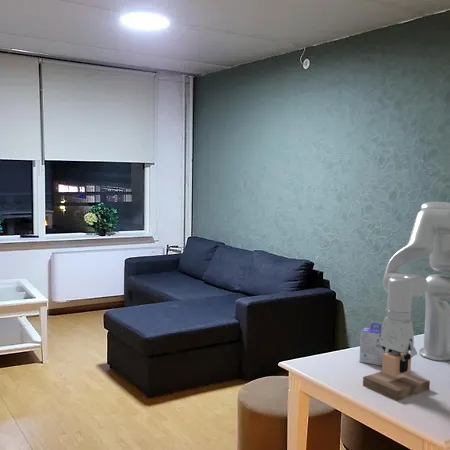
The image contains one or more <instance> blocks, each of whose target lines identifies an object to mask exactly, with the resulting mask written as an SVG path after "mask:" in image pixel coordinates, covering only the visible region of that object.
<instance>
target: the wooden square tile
mask: <svg viewBox="0 0 450 450" xmlns="http://www.w3.org/2000/svg"><path fill="white" fill-rule="evenodd" d="M362 378H363V379H362V386H364V387H366V388H368V389H370V390H372V391H373V392H374V391H375V392H377V393H379V394H381V395H383V396H385V397H387V398H389V399H390V398H391V399H392V400H395V401H400V400H403V399H406V398H409V397H411V396H412V397H413V396H415V395H417V394H421V393H424V392H426V391H430V382H431V381H430V380H429V379H427V378H423V377H422V376H419V375H416V374H414V373H411V372H408V373H404V374H401V375H398V376H392V375H389V374H387V373H384V372H382V370H380V371H378V372H375V373H372V374H368V375H365V376H362Z"/></svg>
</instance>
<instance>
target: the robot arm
mask: <svg viewBox="0 0 450 450" xmlns="http://www.w3.org/2000/svg"><path fill="white" fill-rule="evenodd" d="M413 223H414V224H413V226H412V229H411V233H410V236H409V238H408V239H409V240H408V242H407V244H406V245H405V246H404V247H402V248H400V249H399V250H398V251H396V253H394V254H393V256H391V258H390V259H389V260H388V262H387V264H386V268H385V270H384V271H385V272H384V273H383V274H384V275H383V279H382V286H383V287H382V288H383V290H384V291H385V292H387V298H386V299H387V301H386V302H387V303H386V304H387V305H386V308H385V309H384V312H385V313H386V316H384V319H383V322H382V325H381V330H382V333H381V339H380V340H379V343H380V345H381V346H382V348H383V350H384V354H385V353H388V352H392V350H394V351H397V352H400V353H401V359H402V360H401V361H400V372H401V373H403V372H406V371H407V370H408V360H410V358H411V359H412V358H413V357H415V356H417V355H418V354H419V355H420V356H421V357H424V358H426V359H428V360H434V361H442V362H444V361H445V362H446V361H450V304H449V302H450V275H447V274H439V273H438V274H437V273H435V274H429V275H427V276H426V277H424V276H422V275H420V274H415V273H414V274H413V273H408V272H401V271H399V270H400V269H401V267H403V266H404V265H406V264H408V263H411V262H412V261H416V260H419V259H422V258H425V257H428V256H429V266H430V268H431V269H432V270H434V271H437V272H441V273H442V272H443V273H450V202H445V201H427V202H424V203H422V204H421V207H420V211H418V212H417V214H416V216H415V219H414V222H413ZM423 296H424V298H425V299H424V300H425V313H424V332H423V333H424V334H423V335H424V336H423V338H424V339H423V347H422V348H420V349H419V350H418V351H419V352H417V350H416V348H415V345H414V343H415V341H414V340H415V338H414V337H415V336H414V335H415V333H414V325H413V321H412V320H411V319H412V302H413V301H412V300H413V298H415V299H416V298H421V297H423ZM405 355H406V356H405Z"/></svg>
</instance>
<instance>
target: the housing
mask: <svg viewBox="0 0 450 450" xmlns="http://www.w3.org/2000/svg"><path fill="white" fill-rule="evenodd" d="M405 356H406V355H405ZM401 360H402V359H401V353H400V352H397V351H394V350H392V352H388V353H385V354H383V360H382V365H381V371H382V372H384V373H387V374H389V375H392V376H398V375H401V374H404V373H408V372H409V373H411V369H412V368H411V366H412V358H410V360H408V370H407V371H406V372H403V373H401V372H400V361H401Z"/></svg>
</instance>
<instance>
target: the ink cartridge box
mask: <svg viewBox="0 0 450 450" xmlns="http://www.w3.org/2000/svg"><path fill="white" fill-rule="evenodd" d="M376 326H378V327H376ZM381 333H382V323H377V322H371V324H370V327H363V328H362V329H361V330H360V339H359V361H358V362H360V363H366V364H371V365H377V366H382V360H383V354H384V350H383V348H382V346H381V345H380V343H379V340H380V339H381Z"/></svg>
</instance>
